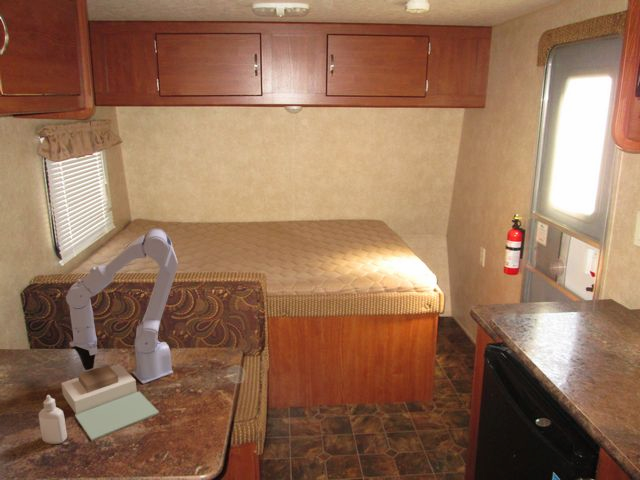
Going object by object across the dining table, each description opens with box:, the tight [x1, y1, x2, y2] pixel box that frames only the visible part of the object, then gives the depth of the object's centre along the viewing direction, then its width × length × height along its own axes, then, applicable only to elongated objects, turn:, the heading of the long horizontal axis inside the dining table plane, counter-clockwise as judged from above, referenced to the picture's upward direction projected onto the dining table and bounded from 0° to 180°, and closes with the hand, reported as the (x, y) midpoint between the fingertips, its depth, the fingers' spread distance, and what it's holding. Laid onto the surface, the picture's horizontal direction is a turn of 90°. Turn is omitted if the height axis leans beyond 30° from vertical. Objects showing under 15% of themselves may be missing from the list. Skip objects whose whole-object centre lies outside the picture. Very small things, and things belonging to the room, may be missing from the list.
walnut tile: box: [77, 364, 118, 393], centre depth 140 cm, size 8×8×2 cm
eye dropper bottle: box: [38, 394, 68, 445], centre depth 121 cm, size 4×6×12 cm
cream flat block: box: [61, 363, 138, 415], centre depth 141 cm, size 16×12×4 cm
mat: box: [74, 391, 160, 442], centre depth 132 cm, size 17×13×1 cm
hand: (88, 368), depth 146 cm, fingers closed
